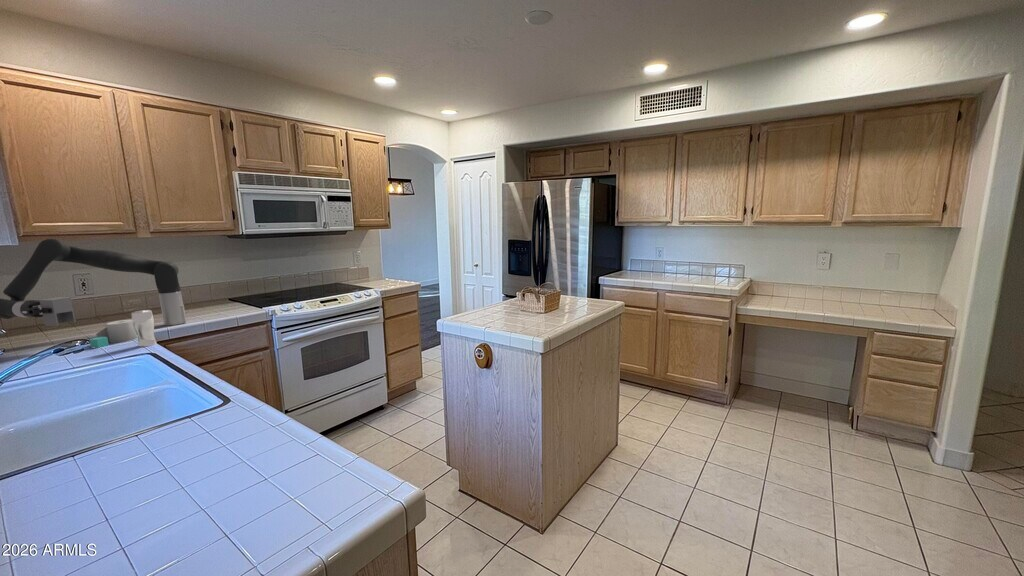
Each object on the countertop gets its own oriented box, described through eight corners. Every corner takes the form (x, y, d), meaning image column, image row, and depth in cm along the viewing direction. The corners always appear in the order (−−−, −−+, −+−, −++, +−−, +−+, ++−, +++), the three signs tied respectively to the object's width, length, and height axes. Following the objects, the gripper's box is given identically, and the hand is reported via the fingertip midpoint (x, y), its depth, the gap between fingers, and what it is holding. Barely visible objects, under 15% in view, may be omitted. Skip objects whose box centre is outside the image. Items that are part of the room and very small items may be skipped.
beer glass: (133, 346, 179) (126, 312, 176) (151, 342, 185) (146, 309, 183) (143, 347, 176) (136, 313, 174) (161, 343, 183) (155, 310, 180)
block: (101, 345, 183) (99, 336, 182) (108, 345, 182) (107, 336, 182) (91, 348, 179) (89, 339, 178) (98, 348, 178) (96, 339, 178)
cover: (63, 321, 182) (58, 297, 180) (75, 321, 181) (70, 297, 179) (44, 325, 176) (39, 300, 174) (57, 325, 175) (51, 300, 173)
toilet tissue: (97, 342, 188) (94, 324, 187) (136, 336, 197) (133, 318, 196) (97, 346, 182) (94, 327, 180) (138, 339, 191) (134, 321, 190)
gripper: (6, 303, 172) (38, 303, 169) (49, 297, 186) (79, 297, 183) (10, 321, 173) (42, 321, 171) (53, 313, 187) (83, 313, 185)
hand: (61, 308), depth 177 cm, fingers closed on cover, 6 cm apart
